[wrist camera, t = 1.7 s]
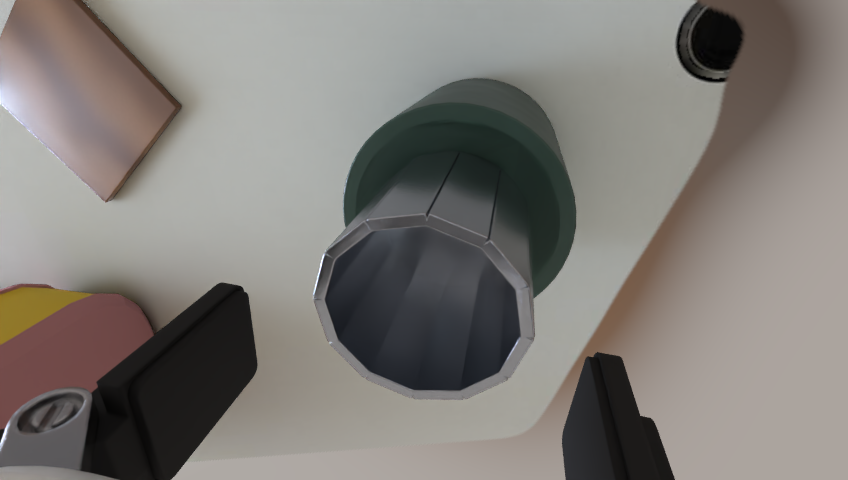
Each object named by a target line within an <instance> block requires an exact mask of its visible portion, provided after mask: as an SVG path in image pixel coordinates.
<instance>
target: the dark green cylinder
mask: <svg viewBox="0 0 848 480" xmlns="http://www.w3.org/2000/svg"><path fill="white" fill-rule="evenodd" d="M443 151H460V152H461V151H464V152H466V153H471V154H474V155H477V156H480V157H483V158H485V159H487V160H489V161H491V162H493V163H494V164H496V165H499V166H500V168H503V169H504V171H505V172H506V173H507V174H508V175H509V176H510V177H511V178H512V179H513V180H514V182H515V183H516V184H517V186H518V187H519V189H520V190H521V192H522V194H523V195H524V196H525V198H526V201H527V202H528V211H529V222H530V233H531V251H532V277H533V299H534V298H535V297H536V296H537V295H538V294H540V293H541V292H542V291H543V290H544V289H545V288H546V287H547V286H548V285H549V284H550V283H551V282H552V281H553V280H554V279H555V277H556V276H557V274H558V273H559V271H560V270H561V269H562V267H563V265H564V263H565V261H566V259H567V257H568V255H569V252H570V249H571V247H572V244H573V240H574V234H575V229H576V205H575V197H574V193H573V190H572V186H571V182H570V179H569V176H568V173H567V170H566V166H565V163H564V160H563V157H562V154H561V151H560V148H559V144H558V141H557V138H556V135H555V132H554V129H553V127H552V125H551V123H550V121H549V119H548V117H547V116H546V114H545V112H544V111H543V110H542V109H541V107H540V106H539V105H538V104H537V103H536V102H535V101H534V100H533V99H532V98H531V97H530V96H528V95H527V94H525V93H524V92H522V91H521V90H519V89H518V88H516V87H514V86H511V85H509V84H507V83H504V82H500V81H497V80H491V79H482V78H473V79H464V80H460V81H456V82H452V83H450V84H447V85H445V86H442V87H441V88H439V89H437V90H435V91H434V92H432V93H430V94H429V95H427V96H426V97H424V98H423V99H421V100H420V101H418V102H417V103H415V104H414V105H412V106H411V107H409V108H408V109H406V110H405V111H403V112H402V113H400V114H399V115H397V116H396V117H394V118H393V119H391V120H390V121H388V122H387V123H386V124H384V125H383V126H382V127H380V128H379V129H378V130H377V131H375V133H374V134H373V135H372V136H371V137H370V138H369V139H368V140H367V141H366V142H365V143H364V145H363V146H362V148H361V149H360V151H359V152H358V153H357V155H356V157H355V159H354V161H353V163H352V165H351V167H350V170H349V173H348V176H347V179H346V184H345V189H344V198H343V212H344V222H345V227H347V226H348V225H349V224H350V223H351V222H352V221H353V220H354V219H355V217H356V216H357V215H358V214H359V213H360V212H361V211H362V210H363V209H364V208H365V206H366V205H367V204H368V203H369V202H370V201H371V200H372V199H373V198H374V196H375V195H376V194H377V193H378V192H379V191H380V190H381V189H382V188H383V187H384V185H385V184H386V183H387V182H388V181H389V180H390V179H391V178H392V177H394V176H395V175H396V174H397V173H398V172H400V171H401V170H402V169H403V168H404V167H405V166H407V165H408V164H409V163H411V162H412V161H413V160H414V159H415V158H417V157H419V156H423V155H428V154H432V153H436V152H443Z"/></svg>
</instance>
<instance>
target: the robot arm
mask: <svg viewBox="0 0 848 480" xmlns="http://www.w3.org/2000/svg"><path fill="white" fill-rule="evenodd" d="M256 370H257V357H256V349H255V342H254V334H253V327H252V320H251V312H250V305H249V297H248V294H247V293H246V292H244V289H243V288H242V287H241V286H238V285H233V284H227V283H219V284H217V285H216V286H214V287H213V288H212V289H211V290H209V291H208V292H207V293H206V294H205V295H203V296H202V297H201V298H200V299H198V300H197V301H196V302H195V303H193V304H192V305H191V306H190V307H188V308H187V309H186V310H185V311H183V312H182V313H181V314H180V315H178V316H177V317H176V318H175V319H173V320H172V321H171V322H170V323H169V324H167V325H166V326H165V327H164V328H162V329H161V330H160V331H159V332H157V333H156V334H155V335H154V336H152V337H151V338H150V339H149V340H147V341H146V342H145V343H144V344H142V345H141V346H140V347H139V348H137V349H136V350H135V351H134V352H133V353H131V354H130V355H129V356H128V357H126V358H125V359H124V360H123V361H121V362H120V363H119V364H118V365H116V366H115V367H114V368H113V369H111V370H110V371H109V372H108V373H106V374H105V375H104V376H103V377H101V378H100V379H99V380H98V381H96V383H97V386H98V388H96V389H95V390H94V391H93V392H92V393H90V392H89V391H88V390H87V389H85V388H82V387H64V388H58V389H55V390H52V391H49V392H46V393H43V394H41V395H39V396H37V397H35V398H33V399H31V400H30V401H28V402H27V403H26V404H24V405H23V406H21V407H20V408H19V409H18V410H17V411H16V412H15V413H14V414H13V415H12V417H11V418H10V420H9V422H8V423H7V426H6V428H4V429H0V480H171V479H172V478H173V477H174V476H175V475H176V474H177V472H178V471H179V470H180V469H181V467H182V466H183V465H184V464H185V462H186V461H187V460H188V459H189V457H190V456H191V455H192V453H193V452H194V451H195V450H196V448H197V447H198V446H199V445H200V443H201V442H202V441H203V440H204V438H205V437H206V436H207V435H208V433H209V432H210V431H211V430H212V428H213V427H214V426H215V425H216V423H217V422H218V421H219V419H220V418H221V417H222V416H223V414H224V413H225V412H226V411H227V409H228V408H229V407H230V406H231V404H232V403H233V402H234V401H235V399H236V398H237V397H238V396H239V394H240V393H241V392H242V390H243V389H244V388H245V387H246V385H247V384H248V383H249V382H250V380H251V379H252V378H253V376H254V375H255V373H256ZM562 447H563V456H564V467H565V477H566V480H675V479H674V476H673V473H672V470H671V467H670V464H669V461H668V459H667V456H666V453H665V450H664V447H663V444H662V442H661V439H660V436H659V433H658V430H657V427H656V425H655V423H654V421H653V420H652V419H651V418H647V417H643V416H640V414H639V410H638V407H637V404H636V401H635V398H634V395H633V392H632V388H631V385H630V382H629V379H628V376H627V373H626V370H625V366H624V363H623V360H622V358H621V357H620V356H615V355H609V354H604V353H598V352H597V353H596V354H595V355H594V357H587V358H586V359H585V363H584V366H583V369H582V372H581V375H580V378H579V382H578V385H577V388H576V391H575V395H574V398H573V401H572V404H571V407H570V410H569V414H568V417H567V420H566V424H565V426H564V430H563V436H562Z"/></svg>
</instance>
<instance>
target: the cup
mask: <svg viewBox="0 0 848 480" xmlns="http://www.w3.org/2000/svg"><path fill="white" fill-rule="evenodd" d="M313 296H314V299H313V300H314V303H315V306H316V308H317V311H318V314H319V317H320V320H321V323H322V326H323V329H324V332H325V335H326V337H327V340H328V342H330V345H331V346H332V347H333V348H334V349H335V350H336V351H337V352H338V353H339V354H340V355H341V356H342V357H343V358H344V359H345V360H346V361H347V362H348V363H349V364H350V365H351V366H352V367H353V368H354V369H355V370H356V371H357V372H358V373H359V374H360V375H361V376H362V377H366V379H367V380H369V381H371V382H374V383H376V384H378V385H381V386H383V387H385V388H388V389H390V390H393V391H395V392H397V393H400V394H402V395H404V396H407V397H409V398H412V397H414V399H440V400H463V398H465V399H468V398H470V397H472V396H474V395H476V394H478V393H481V392H483V391H485V390H487V389H489V388H492V387H494V386H496V385H498V384H500V383H502V382H505V381H507V380H508V378H510V377H511V376H512V374H513V373H514V371H515V369H516V368H517V366H518V365H519V363H520V361H521V360H522V358H523V357H524V355H525V353H526V352H527V350H528V349H529V347H530V345H531V344H532V342H533V341H534V337H535V328H534V302H533V277H532V251H531V233H530V222H529V211H528V202H527V201H526V198H525V196H524V195H523V194H522V192H521V190H520V189H519V187H518V186H517V184H516V183H515V182H514V180H513V179H512V178H511V177H510V176H509V175H508V174H507V173H506V172H505V171H504V169H503V168H500V166H499V165H496V164H494V163H493V162H491V161H489V160H487V159H485V158H483V157H480V156H477V155H474V154H471V153H466V152H464V151H461V152H460V151H443V152H436V153H432V154H428V155H423V156H419V157H417V158H415V159H414V160H413V161H412V162H411V163H409V164H408V165H407V166H405V167H404V168H403V169H402V170H401V171H400V172H398V173H397V174H396V175H395V176H394V177H392V178H391V179H390V180H389V181H388V182H387V183H386V184H385V185H384V187H383V188H382V189H381V190H380V191H379V192H378V193H377V194H376V195H375V196H374V198H373V199H372V200H371V201H370V202H369V203H368V204H367V205H366V206H365V208H364V209H363V210H362V211H361V212H360V213H359V214H358V215H357V216H356V217H355V219H354V220H353V221H352V222H351V223H350V224H349V225H348V226H347V227H346V229H345V230H344V231H343V232H342V233H341V234H340V235H339V236H338V237H337V238H336V240H335V241H334V242H333V243H332V244H331V245H330V246H329V247H328V248H327V250H326V252H325V253H324V255H323V259H322V263H321V267H320V271H319V274H318V278H317V282H316V286H315V290H314V294H313Z"/></svg>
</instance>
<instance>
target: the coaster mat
mask: <svg viewBox="0 0 848 480" xmlns="http://www.w3.org/2000/svg"><path fill="white" fill-rule="evenodd" d="M0 104H1V105H2V106H3V107H4V108H6V109H7V110H8V111H9V112H10V113H11V114H12V115H13V116H14V117H15V118H16V119H17V120H18V121H19V122H20V123H21V124H23V125H24V126H25V127H26V128H27V129H28V130H29V131H30V132H31V133H32V134H33V135H34V136H35V137H36V138H37V139H38V140H39V141H41V142H42V143H43V144H44V145H45V146H46V147H47V148H48V149H49V150H50V151H51V152H52V153H53V154H54V155H55V156H56V157H58V158H59V159H60V160H61V161H62V162H63V163H64V164H65V165H66V166H67V167H68V168H69V169H70V170H71V171H72V172H73V173H75V174H76V175H77V176H78V177H79V178H80V179H81V180H82V181H83V182H84V183H85V184H86V185H87V186H88V187H89V188H90V189H91V190H93V191H94V192H95V193H96V194H97V195H98V196H99V197H100V198H101V199H102V200H103V201H104V202H109V201H111V200H112V199H113V197H114V196H115V195H116V193H117V192H118V191H119V189H120V188H121V187H122V185H123V184H124V183H125V181H126V180H127V179H128V177H129V176H130V175H131V173H132V172H133V171H134V169H135V168H136V167H137V165H138V164H139V163H140V161H141V160H142V159H143V157H144V156H145V155H146V153H147V152H148V151H149V149H150V148H151V147H152V145H153V144H154V143H155V141H156V140H157V139H158V138H159V136H160V135H161V134H162V132H163V131H164V130H165V128H166V127H167V126H168V124H169V123H170V122H171V120H172V119H173V118H174V116H175V115H176V114H177V112H178V111H179V110H180V108H181V105H180V104H179V103H178V102H177V101H176V100H175V99H174V98H173V97H172V96H171V95H170V94H169V93H168V92H167V90H166V89H165V88H164V87H163V86H162V85H161V84H160V83H159V82H158V81H157V80H156V79H155V78H154V77H153V76H152V75H151V74H150V73H149V72H148V70H147V69H146V68H145V67H144V66H143V65H142V64H141V63H140V62H139V61H138V60H137V59H136V58H135V57H134V56H133V55H132V54H131V53H130V52H129V50H128V49H127V48H126V47H125V46H124V45H123V44H122V43H121V42H120V41H119V40H118V39H117V38H116V37H115V36H114V35H113V34H112V33H111V32H110V30H109V29H108V28H107V27H106V26H105V25H104V24H103V23H102V22H101V21H100V20H99V19H98V18H97V17H96V16H95V15H94V14H93V13H92V12H91V10H90V9H89V8H88V7H87V6H86V5H85V4H84V3H83V2H82V1H81V0H16V1H15V3H14V5H13V8H12V10H11V13H10V15H9V17H8V20H7V22H6V24H5V27H4V29H3V31H2V34H1V36H0Z"/></svg>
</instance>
